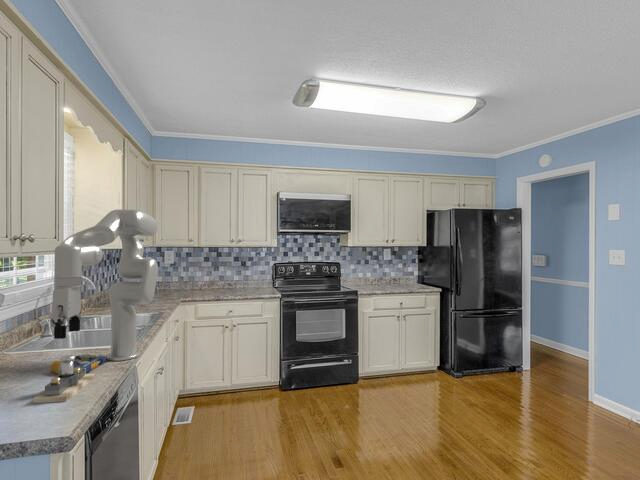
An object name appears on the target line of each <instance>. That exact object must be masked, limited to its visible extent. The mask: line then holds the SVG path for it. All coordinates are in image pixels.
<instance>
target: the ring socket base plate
mask: <svg viewBox="0 0 640 480" xmlns="http://www.w3.org/2000/svg"><path fill="white" fill-rule="evenodd" d="M94 378H95V373H86V374H85V371H80V367H77V368H73V376H71V377H67V378H61V374H56V375H55V376H53V378H52V377H51V379H50V382H49V383H48V384H46V385H44V389H43V391H41V392H40V393H38V394H37V395H35V396H34V397H33V404H40V403H42V404H43V403H53V402H55V403H57V402H67V401H69V400H70V399H71V398H72V397H73V396H74V395H76V394H77V393H78V392H79V391H80V390H81V389H83V388H84V387H85V386H86V385H88V383H89V382H91V381H92V380H93V379H94Z"/></svg>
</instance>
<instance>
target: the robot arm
mask: <svg viewBox="0 0 640 480" xmlns="http://www.w3.org/2000/svg"><path fill="white" fill-rule="evenodd" d="M158 226H159V225H158V223H157V221H156V219H155V218H154V217H153V216H152V215H150V214H148V213H146V212H144V211H141V210H138V209H113V210H111V211H109V212H108V213H107V214H106V215H105V216H104V217H103V218H102V219H100V220H99V222H97V224H95V225H94V226H92V227H91V226H90V227H88V228H85V229H83V230H80V231H78V232H76V233H73V234H71V235H70V236H68V237H67V238H66V239H64V241H62V242H60V244H59V245H57V246H56V247H55V248H54V253H53V254H54V260H53V261H54V263H53V264H54V265H53V268H54V269H53V271H54V273H53V281H54V282H53V288H54V289H53V295H52V302H51V319H52V323H53V329H54V330H53V335H54V336H53V337H54V338H53V339H54V340H57V339H58V340H59V339H61V340H62V339H63V340H64V339H66V338H67V325H66V323H67V320H68V330H69V332H80V331H81V317H82V316H81V313H82V311H81V310H82V298H81V297H82V294H81V287H82V286H83V285H82V284H83V282H82V281H83V277H82V275H83V270H82V269H83V267H91V266H92V267H93V266H96V265H98V264H100V262H101V261H102V260H103V257H104V252H103V250H102V248H101V246H106V245H109V244H111V243H113V242H115V241H116V239H117V238H118V237H119V238H120V241H121V245H122V250H121V253H120V259H119V263H118V268H117V269H118V270H117V274H118V275H117V276H119V278H121V279H125V280H141V281H118V282H115V283H112V284H111V286H110V287H109V288H108V289H109V290H108V297H109V298H108V299H109V303H110V312H111V314H110V315H111V316H110V317H111V318H110V321H111V323H110V325H111V326H110V330H111V331H110V352H109V353H107V354H106V355H105V357H106V360H108V361H114V362H115V361H118V362H120V361H127V360H132V359H135V358H137V357H140V356H141V351H140V350H137V320H138V319H137V317H138V315H137V312H136V309H135V308H134V306H133V305H149V304H150V303H152V302H153V300H154V297H155V292H156V286H157V280H158V274H159V264H158V262H157V260H156V259H154V258H153V257H143V256H144V251H145V249H144V245H143V243H142V242H141V240H140V239H139V237H153V236H155V235H156V233H157V232H158Z"/></svg>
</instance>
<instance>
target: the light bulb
mask: <svg viewBox="0 0 640 480" xmlns="http://www.w3.org/2000/svg"><path fill="white" fill-rule="evenodd" d="M75 356H76V355H75V354H68V355H67V354H65V355H61V356H60V357H59V361H61V362H62V372H61V378H67V377H71V376H73V360H75Z"/></svg>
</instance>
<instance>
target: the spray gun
mask: <svg viewBox="0 0 640 480" xmlns="http://www.w3.org/2000/svg"><path fill="white" fill-rule="evenodd" d="M106 360H107V358H106V356H103V355H102V354H99V355H96V354H95V355H94V354H79V355H75V360H73V368H77V367H80V371H85V374H89V373H90V372H91V371H93V370H95V369H97V368H98V367H99V366H101V365H103V364H105V363H106ZM49 370H50V372H51V373H55V374H56V375H59V374H61V372H62V362H61V361H60V360H55V361H54V362H52V363H51V364H50V366H49Z"/></svg>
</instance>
